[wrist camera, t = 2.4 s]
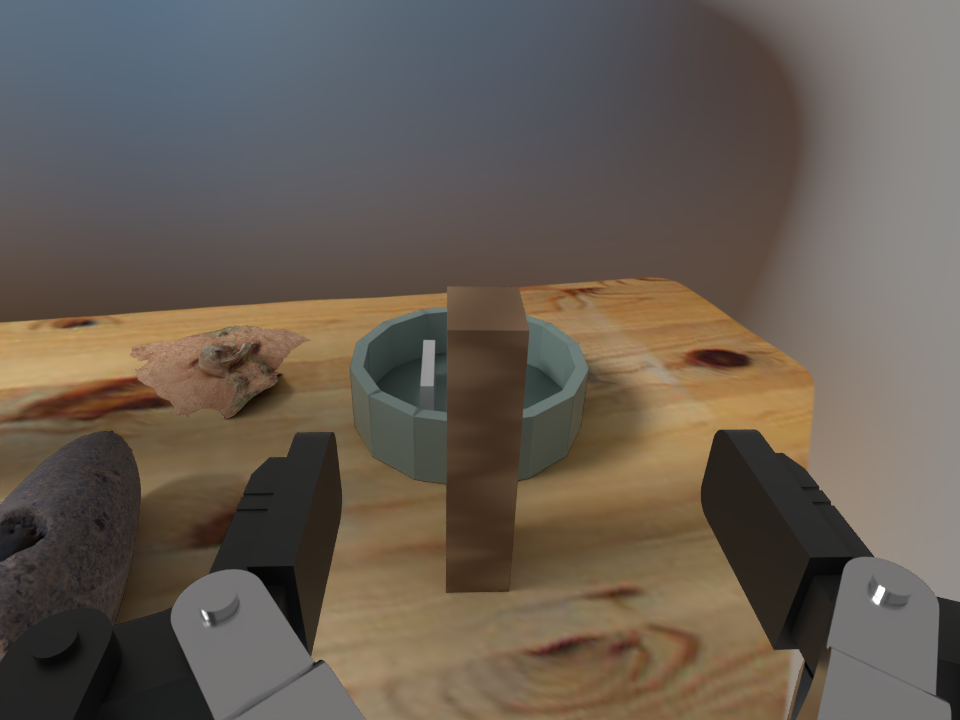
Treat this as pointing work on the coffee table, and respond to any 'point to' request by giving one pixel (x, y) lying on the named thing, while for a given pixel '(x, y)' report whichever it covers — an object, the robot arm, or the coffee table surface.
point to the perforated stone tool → (69, 534)
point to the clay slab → (215, 367)
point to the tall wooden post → (483, 433)
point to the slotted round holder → (423, 394)
